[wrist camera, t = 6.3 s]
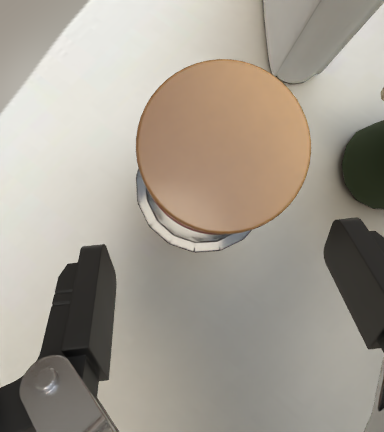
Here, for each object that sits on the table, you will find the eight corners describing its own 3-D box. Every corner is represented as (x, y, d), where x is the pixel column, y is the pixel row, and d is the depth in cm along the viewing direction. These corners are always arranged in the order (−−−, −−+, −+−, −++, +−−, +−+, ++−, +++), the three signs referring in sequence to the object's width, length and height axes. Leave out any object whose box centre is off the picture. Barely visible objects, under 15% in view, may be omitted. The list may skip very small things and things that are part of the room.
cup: (219, 131, 24) (233, 97, 18) (262, 217, 24) (291, 215, 18) (132, 172, 24) (114, 154, 17) (175, 260, 24) (172, 274, 17)
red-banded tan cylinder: (213, 150, 24) (265, 24, 9) (242, 210, 24) (346, 188, 9) (153, 179, 23) (100, 102, 8) (182, 239, 23) (181, 268, 8)
